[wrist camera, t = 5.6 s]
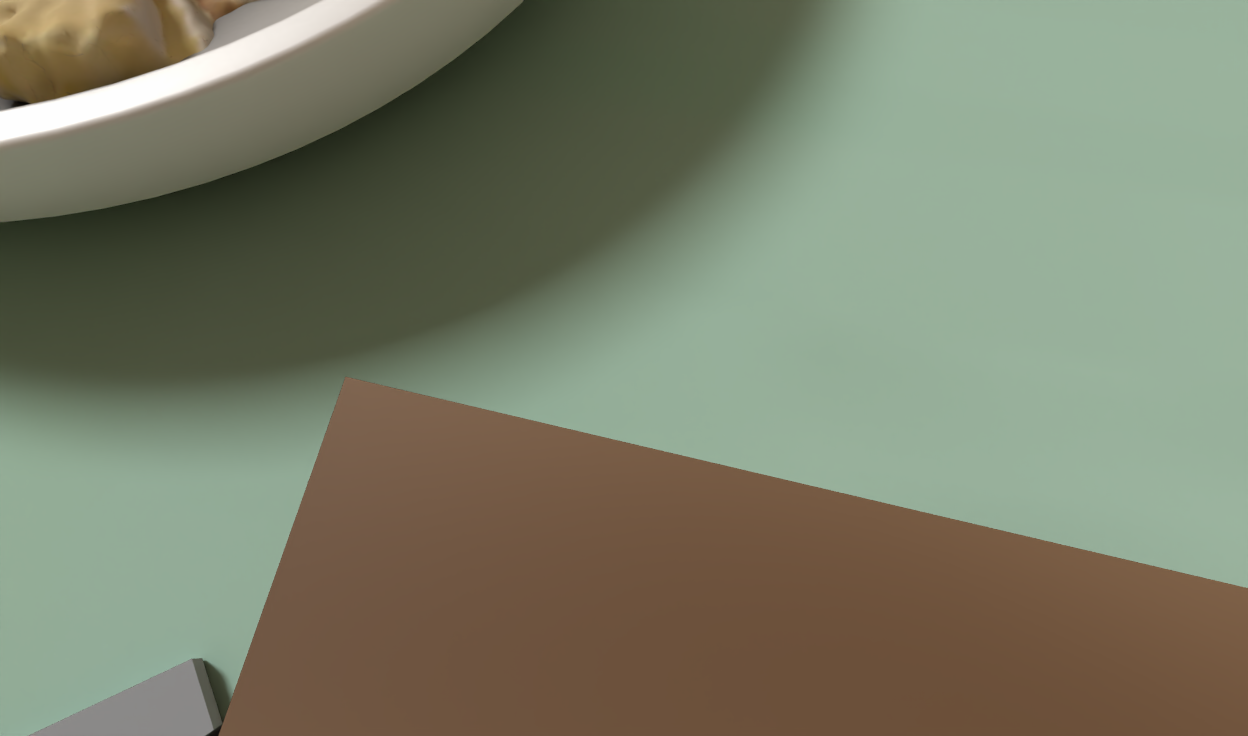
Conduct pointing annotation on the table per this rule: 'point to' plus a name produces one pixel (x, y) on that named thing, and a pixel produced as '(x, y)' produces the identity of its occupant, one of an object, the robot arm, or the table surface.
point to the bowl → (198, 87)
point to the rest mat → (150, 708)
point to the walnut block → (694, 603)
